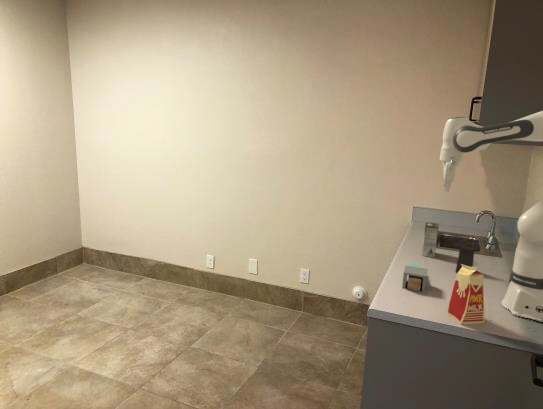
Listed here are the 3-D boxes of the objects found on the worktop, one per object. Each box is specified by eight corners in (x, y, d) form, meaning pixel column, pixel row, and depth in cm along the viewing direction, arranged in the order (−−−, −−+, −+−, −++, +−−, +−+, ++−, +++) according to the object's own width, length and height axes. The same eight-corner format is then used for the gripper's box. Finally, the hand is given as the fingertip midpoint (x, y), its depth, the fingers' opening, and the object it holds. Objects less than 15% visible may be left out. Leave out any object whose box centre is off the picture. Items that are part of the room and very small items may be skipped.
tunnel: (403, 280, 171) (405, 265, 170) (425, 283, 168) (427, 268, 166) (402, 287, 163) (403, 272, 162) (425, 292, 160) (427, 276, 158)
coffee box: (422, 250, 212) (425, 221, 208) (434, 252, 210) (438, 223, 206) (421, 255, 203) (425, 225, 200) (434, 257, 201) (438, 227, 198)
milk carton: (484, 323, 136) (493, 268, 132) (461, 325, 134) (469, 270, 130) (466, 310, 145) (474, 259, 141) (444, 312, 143) (451, 260, 139)
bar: (409, 269, 185) (410, 261, 184) (418, 270, 184) (419, 262, 183) (412, 284, 168) (413, 275, 167) (422, 285, 167) (423, 276, 166)
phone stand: (469, 275, 179) (473, 250, 176) (455, 272, 182) (458, 247, 180) (472, 269, 186) (476, 245, 184) (458, 266, 190) (462, 243, 187)
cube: (407, 284, 167) (409, 273, 166) (420, 286, 166) (421, 275, 164) (407, 288, 163) (408, 277, 162) (419, 290, 161) (421, 279, 160)
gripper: (461, 159, 153) (455, 194, 156) (458, 155, 172) (453, 186, 175) (443, 158, 155) (438, 192, 159) (442, 154, 174) (438, 185, 177)
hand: (446, 189), depth 167 cm, fingers open, 8 cm apart
